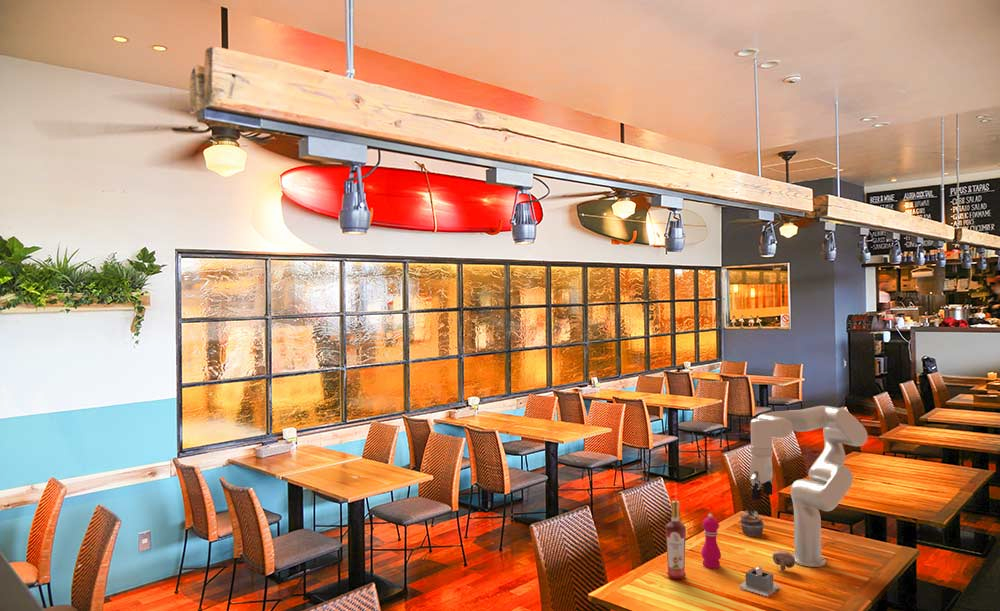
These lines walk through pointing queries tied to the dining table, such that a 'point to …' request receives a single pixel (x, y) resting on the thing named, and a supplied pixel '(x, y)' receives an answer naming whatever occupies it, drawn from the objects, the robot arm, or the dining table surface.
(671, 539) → the liquor
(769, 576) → the grey rectangular frame
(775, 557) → the mushroom
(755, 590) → the keeper
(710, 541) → the pepper mill
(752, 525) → the cupcake
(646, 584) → the dining table surface
